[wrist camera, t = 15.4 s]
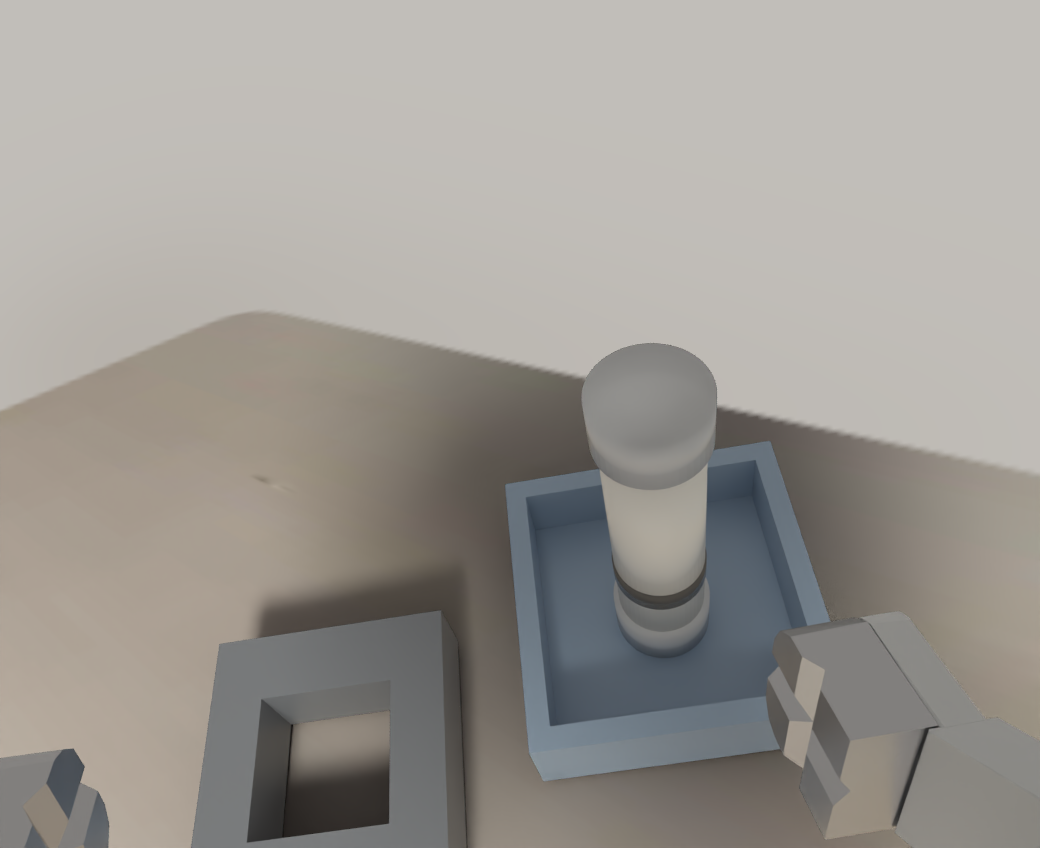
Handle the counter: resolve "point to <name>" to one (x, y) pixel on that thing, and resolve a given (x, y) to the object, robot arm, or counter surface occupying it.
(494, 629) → the counter surface
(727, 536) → the parts tray
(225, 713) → the block
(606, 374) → the fuse
